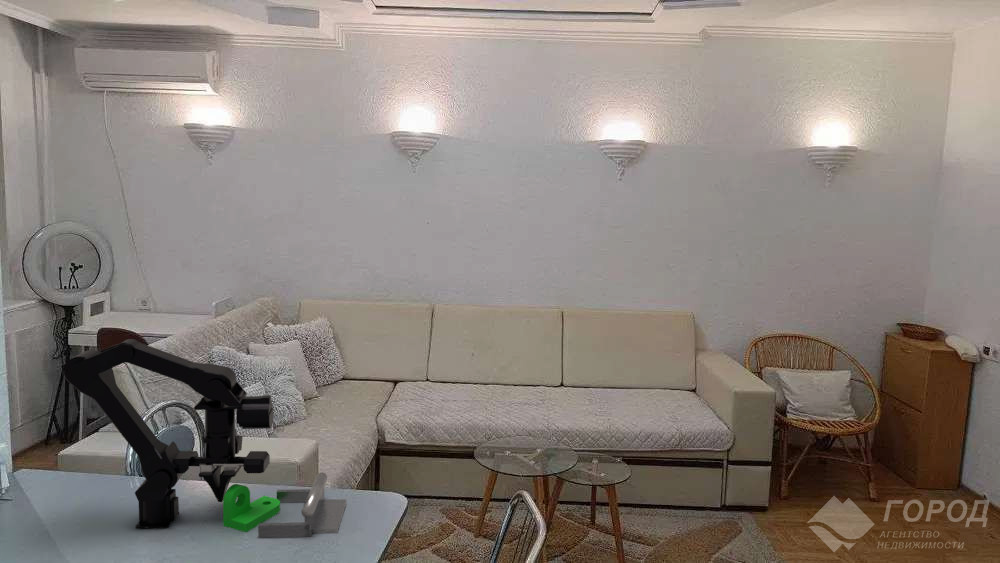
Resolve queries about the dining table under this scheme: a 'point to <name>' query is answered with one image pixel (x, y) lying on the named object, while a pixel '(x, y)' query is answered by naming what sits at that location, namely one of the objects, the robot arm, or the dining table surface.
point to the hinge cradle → (307, 512)
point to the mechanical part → (246, 508)
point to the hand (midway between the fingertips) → (220, 501)
